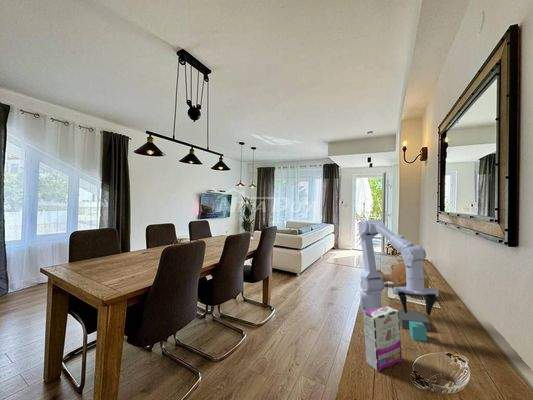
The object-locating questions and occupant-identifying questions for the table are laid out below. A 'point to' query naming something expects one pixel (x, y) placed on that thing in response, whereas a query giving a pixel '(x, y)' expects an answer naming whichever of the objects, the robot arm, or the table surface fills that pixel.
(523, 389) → the table surface
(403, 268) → the jug
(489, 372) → the table surface
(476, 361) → the table surface
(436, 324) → the table surface
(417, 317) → the block
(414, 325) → the teal block
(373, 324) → the candy bar box
